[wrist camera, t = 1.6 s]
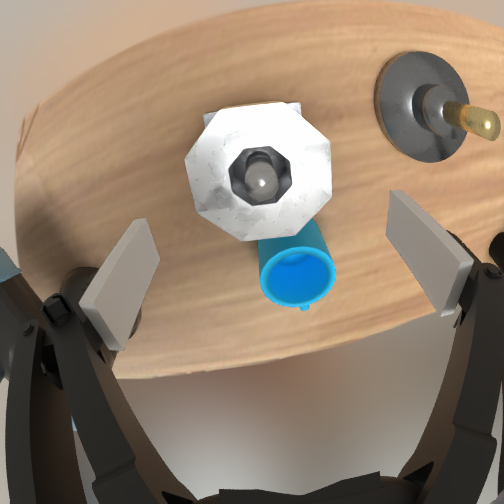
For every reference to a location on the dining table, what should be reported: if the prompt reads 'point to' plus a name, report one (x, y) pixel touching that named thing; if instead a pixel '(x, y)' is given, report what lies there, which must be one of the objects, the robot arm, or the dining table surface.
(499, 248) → the cup
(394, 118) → the hub
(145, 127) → the dining table surface
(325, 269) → the mug
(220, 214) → the faceted steel ring
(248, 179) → the stand
